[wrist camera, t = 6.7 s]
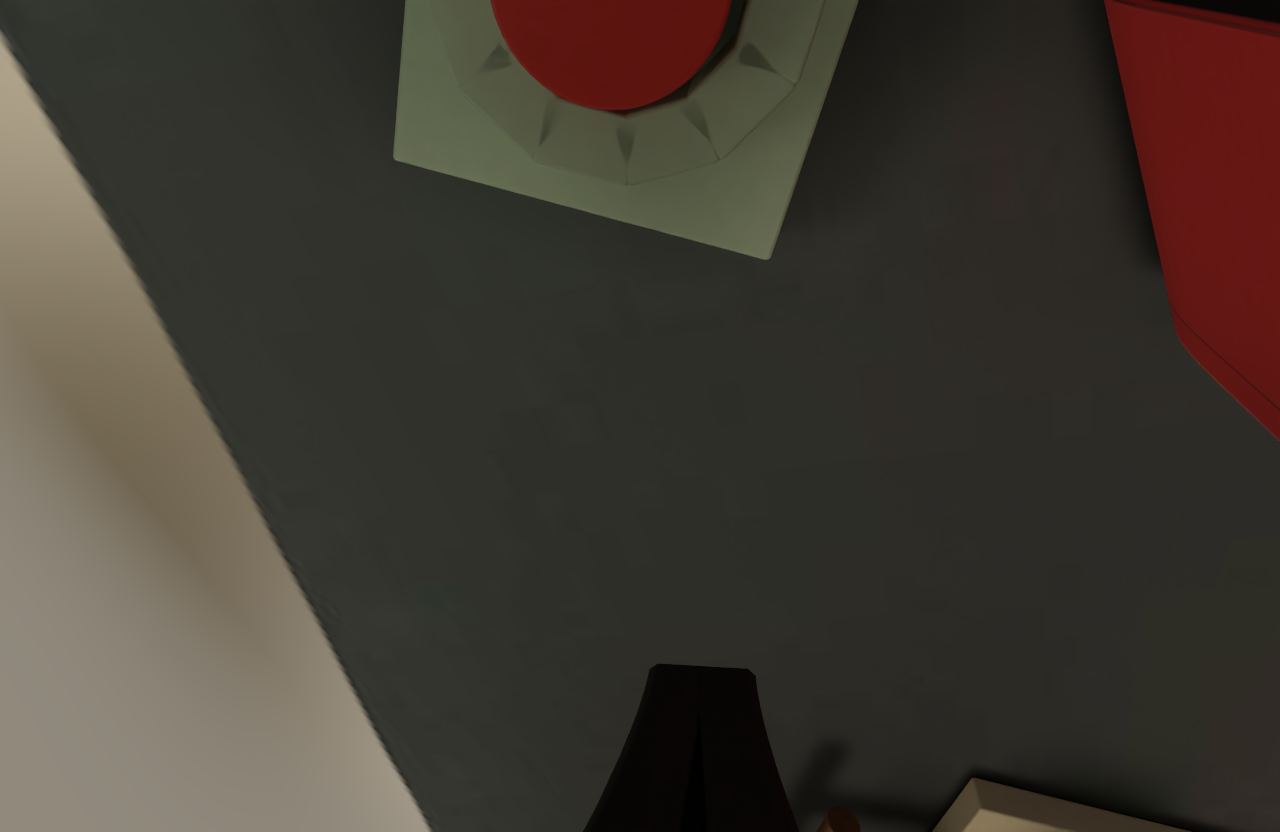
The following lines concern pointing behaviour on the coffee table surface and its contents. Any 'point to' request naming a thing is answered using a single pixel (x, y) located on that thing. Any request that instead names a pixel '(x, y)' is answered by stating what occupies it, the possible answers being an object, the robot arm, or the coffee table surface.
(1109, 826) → the bracket
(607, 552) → the coffee table surface
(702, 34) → the button
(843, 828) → the lever
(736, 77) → the button box
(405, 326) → the coffee table surface
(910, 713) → the coffee table surface
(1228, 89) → the alarm clock
